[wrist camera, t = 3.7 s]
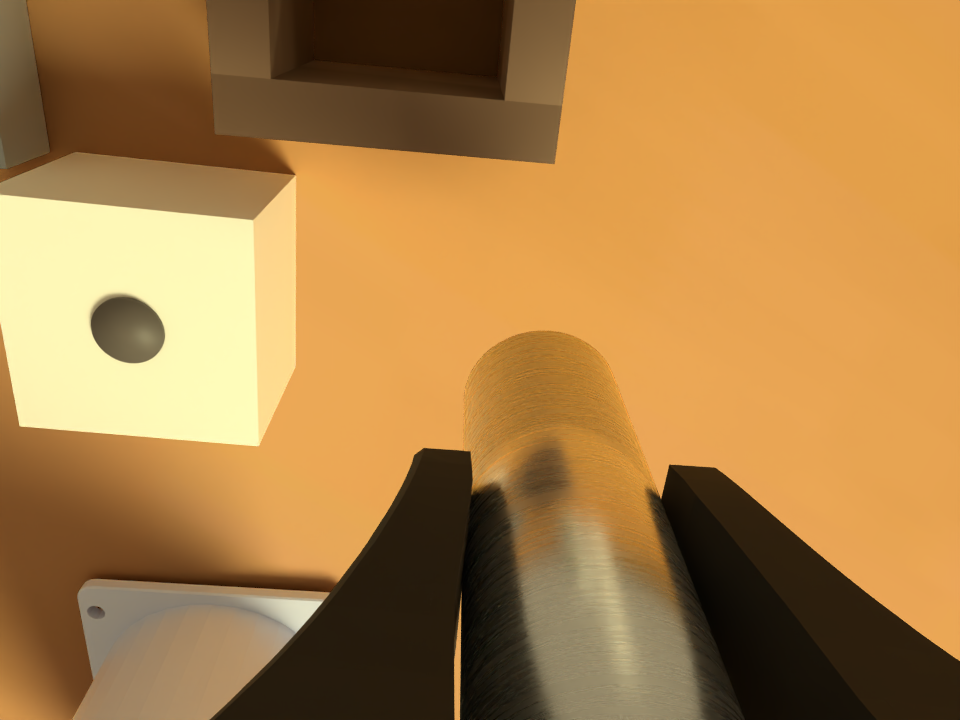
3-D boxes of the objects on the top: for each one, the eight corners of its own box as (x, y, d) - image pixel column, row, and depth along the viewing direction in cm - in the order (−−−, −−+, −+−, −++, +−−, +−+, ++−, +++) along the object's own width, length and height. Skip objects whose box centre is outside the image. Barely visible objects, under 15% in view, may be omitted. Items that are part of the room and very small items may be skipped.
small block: (297, 363, 20) (257, 448, 16) (102, 346, 19) (17, 428, 16) (297, 173, 18) (252, 222, 14) (78, 150, 17) (-28, 193, 14)
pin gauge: (603, 469, 13) (759, 1022, 6) (457, 459, 13) (445, 1013, 6) (629, 337, 12) (858, 824, 5) (470, 324, 12) (473, 806, 5)
